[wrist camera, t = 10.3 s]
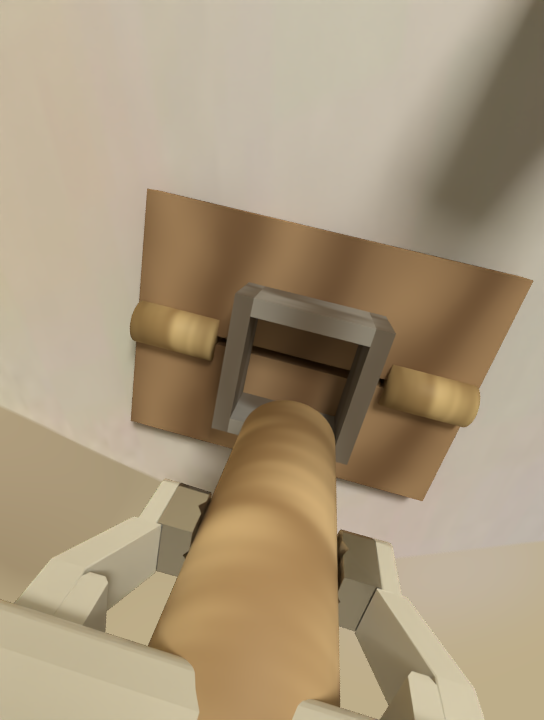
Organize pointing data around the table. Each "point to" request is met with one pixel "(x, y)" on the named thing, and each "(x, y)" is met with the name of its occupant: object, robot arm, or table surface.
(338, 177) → the table surface
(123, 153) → the table surface
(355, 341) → the wooden socket board
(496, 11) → the table surface
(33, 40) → the table surface
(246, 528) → the pin
